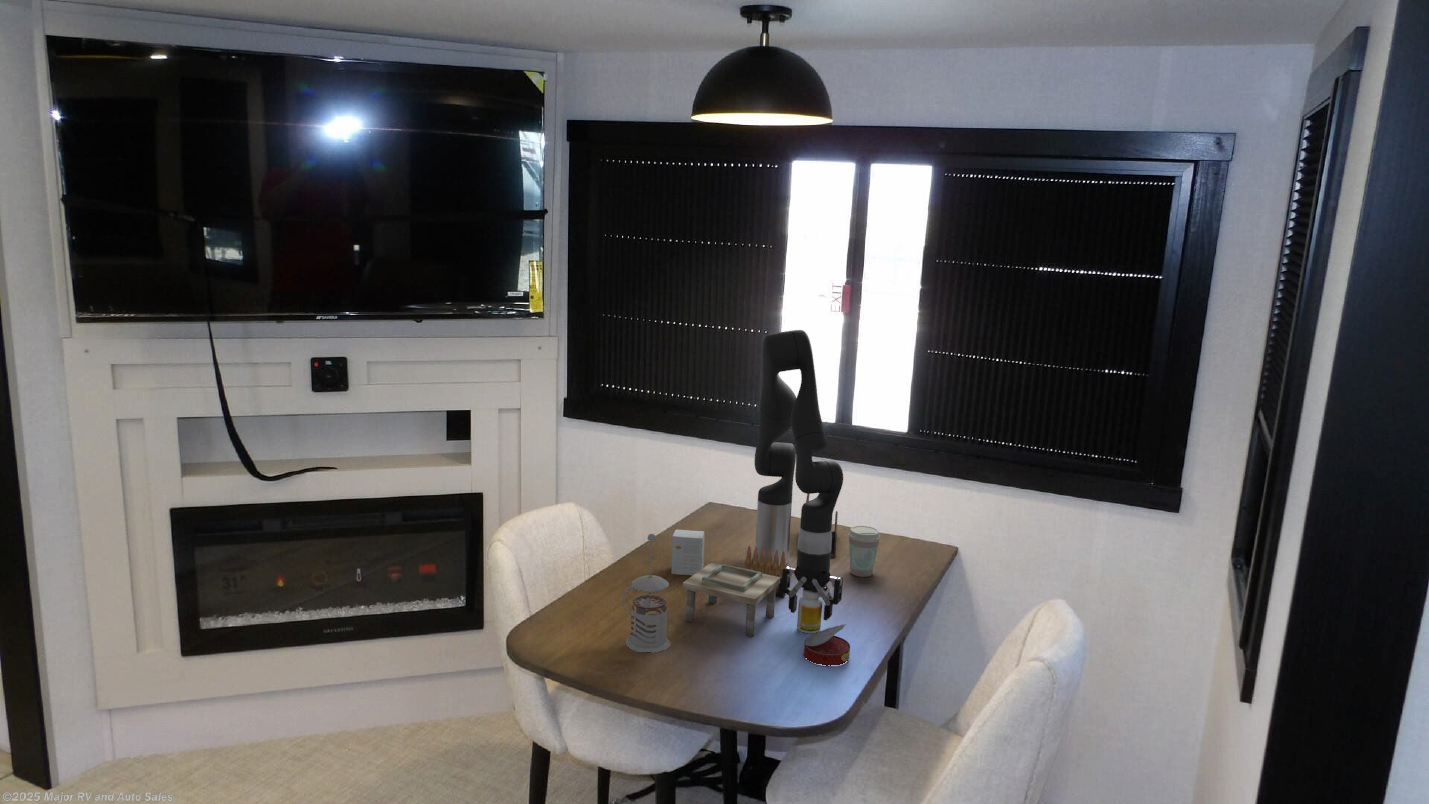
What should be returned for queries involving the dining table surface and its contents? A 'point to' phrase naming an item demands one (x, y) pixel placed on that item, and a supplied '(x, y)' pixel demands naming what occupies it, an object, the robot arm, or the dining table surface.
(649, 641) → the french press
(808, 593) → the supplement bottle
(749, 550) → the ammunition clip
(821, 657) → the canned food
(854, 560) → the coffee cup
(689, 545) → the small box
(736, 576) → the miniature tray table
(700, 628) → the dining table surface
